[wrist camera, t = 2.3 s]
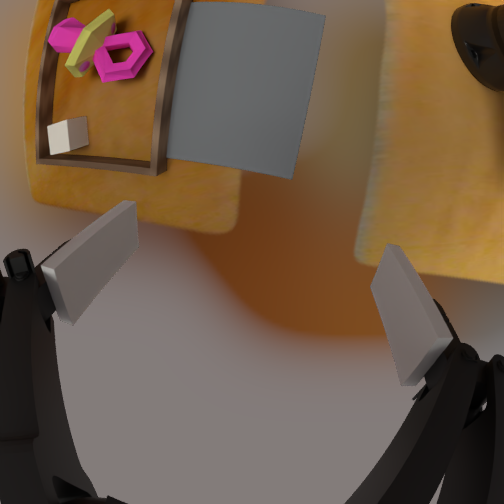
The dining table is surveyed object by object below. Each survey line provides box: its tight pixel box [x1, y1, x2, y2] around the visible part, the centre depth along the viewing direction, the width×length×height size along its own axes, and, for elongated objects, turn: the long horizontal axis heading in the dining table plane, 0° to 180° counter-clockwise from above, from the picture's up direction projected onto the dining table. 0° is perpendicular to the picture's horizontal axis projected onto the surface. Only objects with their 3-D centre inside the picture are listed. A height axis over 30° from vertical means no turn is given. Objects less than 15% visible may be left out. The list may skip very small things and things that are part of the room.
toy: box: [48, 9, 153, 82], centre depth 25 cm, size 10×18×10 cm, turn 55°
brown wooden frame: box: [36, 0, 193, 176], centre depth 29 cm, size 32×26×4 cm
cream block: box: [47, 116, 89, 155], centre depth 34 cm, size 5×5×5 cm
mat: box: [166, 2, 326, 179], centre depth 31 cm, size 24×18×1 cm
